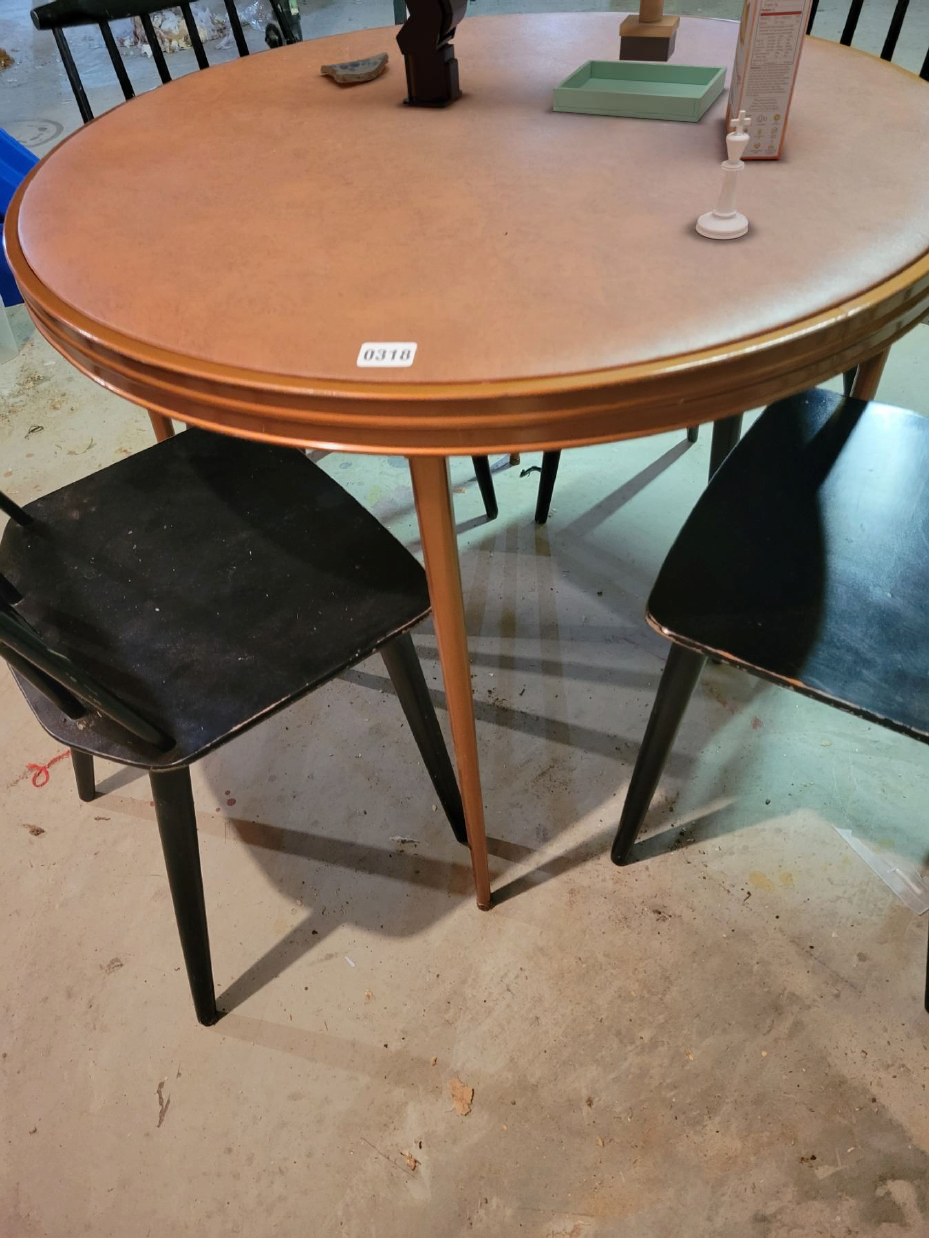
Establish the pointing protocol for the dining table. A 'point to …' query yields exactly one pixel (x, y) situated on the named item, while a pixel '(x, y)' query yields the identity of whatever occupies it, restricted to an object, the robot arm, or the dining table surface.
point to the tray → (640, 90)
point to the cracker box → (766, 71)
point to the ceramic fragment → (357, 69)
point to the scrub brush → (648, 33)
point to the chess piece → (728, 190)
